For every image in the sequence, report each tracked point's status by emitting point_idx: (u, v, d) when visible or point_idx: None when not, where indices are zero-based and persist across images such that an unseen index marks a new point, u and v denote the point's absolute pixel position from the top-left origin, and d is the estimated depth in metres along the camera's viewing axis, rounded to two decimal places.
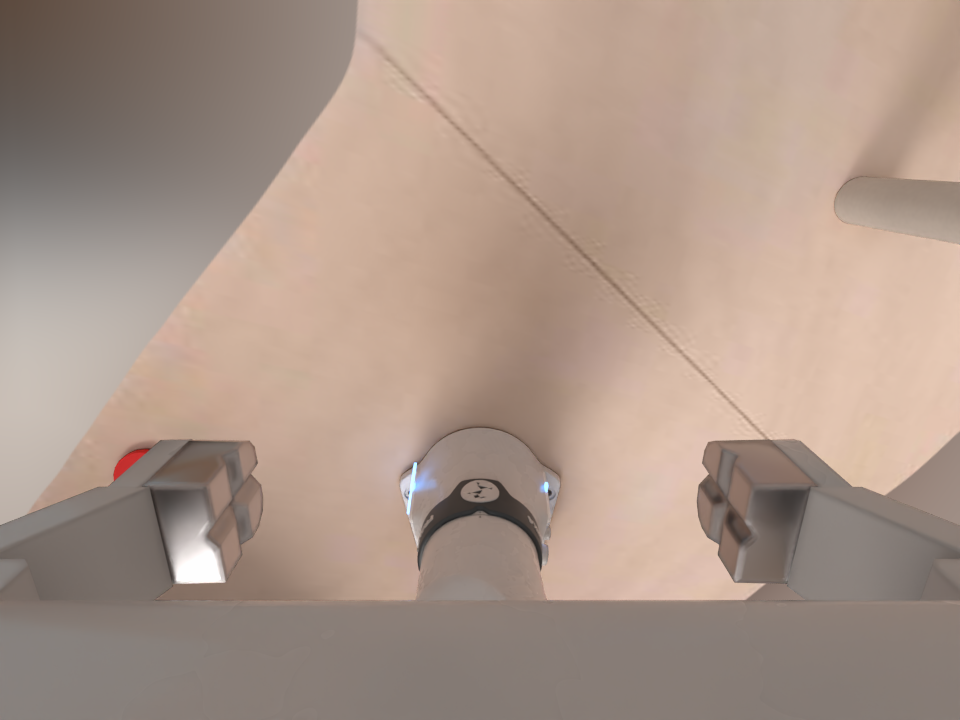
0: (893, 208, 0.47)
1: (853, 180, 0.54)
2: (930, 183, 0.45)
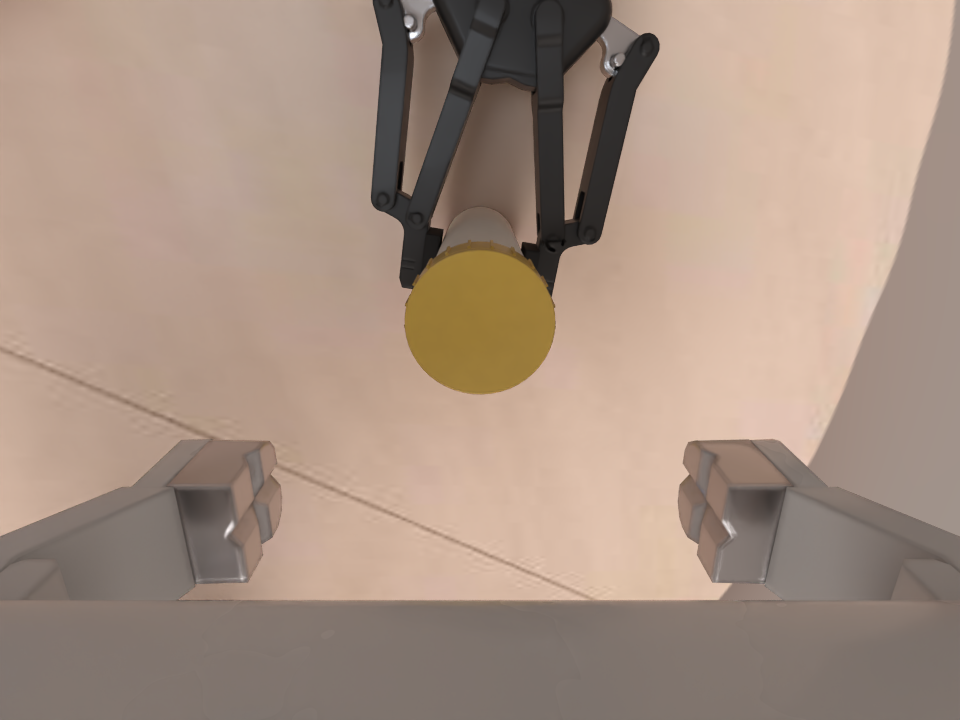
0: None
1: (454, 219, 0.35)
2: (451, 235, 0.27)
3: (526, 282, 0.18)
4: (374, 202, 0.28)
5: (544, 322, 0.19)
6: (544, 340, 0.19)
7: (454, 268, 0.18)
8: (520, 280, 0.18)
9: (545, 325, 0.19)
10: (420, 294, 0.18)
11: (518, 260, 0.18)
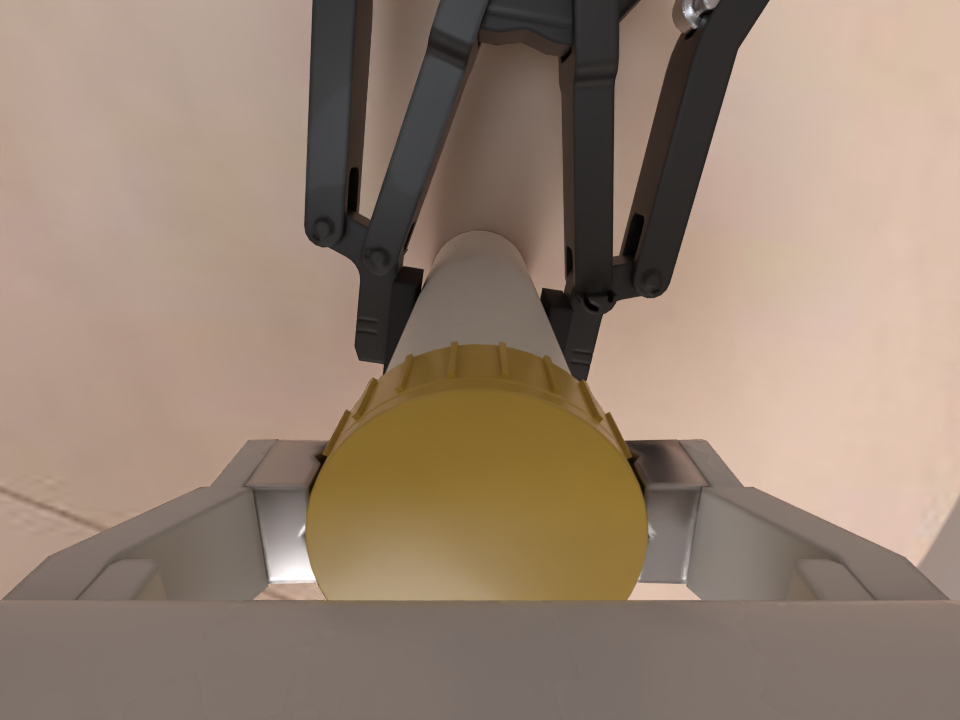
0: None
1: (442, 248, 0.25)
2: (431, 290, 0.16)
3: (586, 459, 0.08)
4: (310, 233, 0.18)
5: (624, 540, 0.08)
6: (621, 575, 0.08)
7: (415, 429, 0.08)
8: (572, 455, 0.08)
9: (626, 546, 0.08)
10: (337, 483, 0.08)
11: (569, 411, 0.07)
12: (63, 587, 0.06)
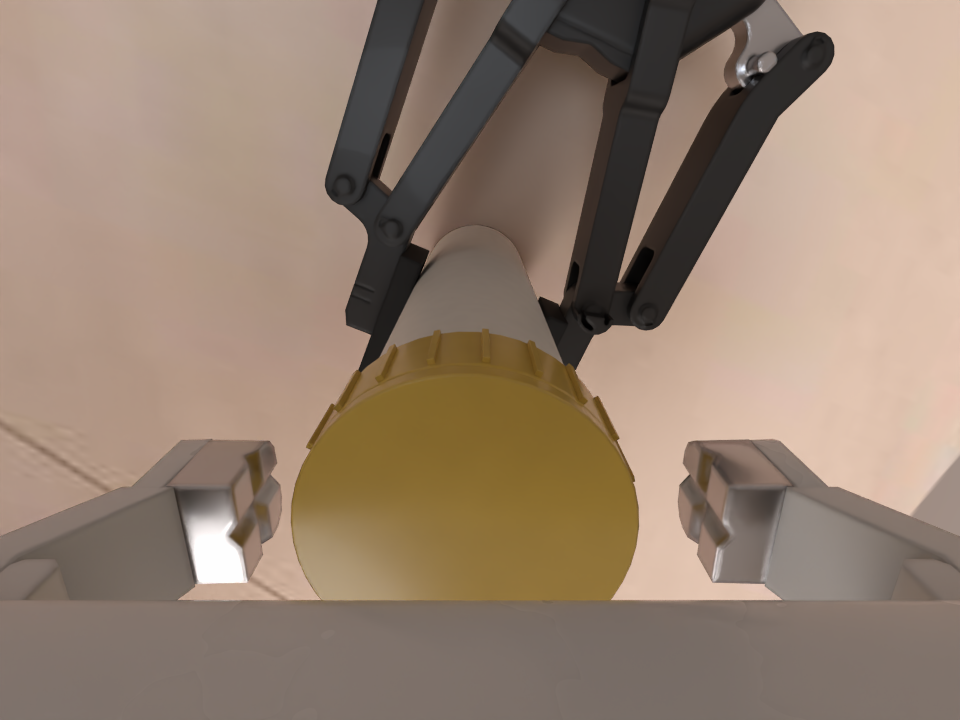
0: None
1: (447, 234, 0.25)
2: (440, 272, 0.16)
3: (441, 404, 0.07)
4: (329, 187, 0.17)
5: (552, 424, 0.07)
6: (589, 447, 0.08)
7: (321, 507, 0.08)
8: (429, 413, 0.07)
9: (560, 426, 0.07)
10: (332, 586, 0.08)
11: (385, 389, 0.07)
12: None
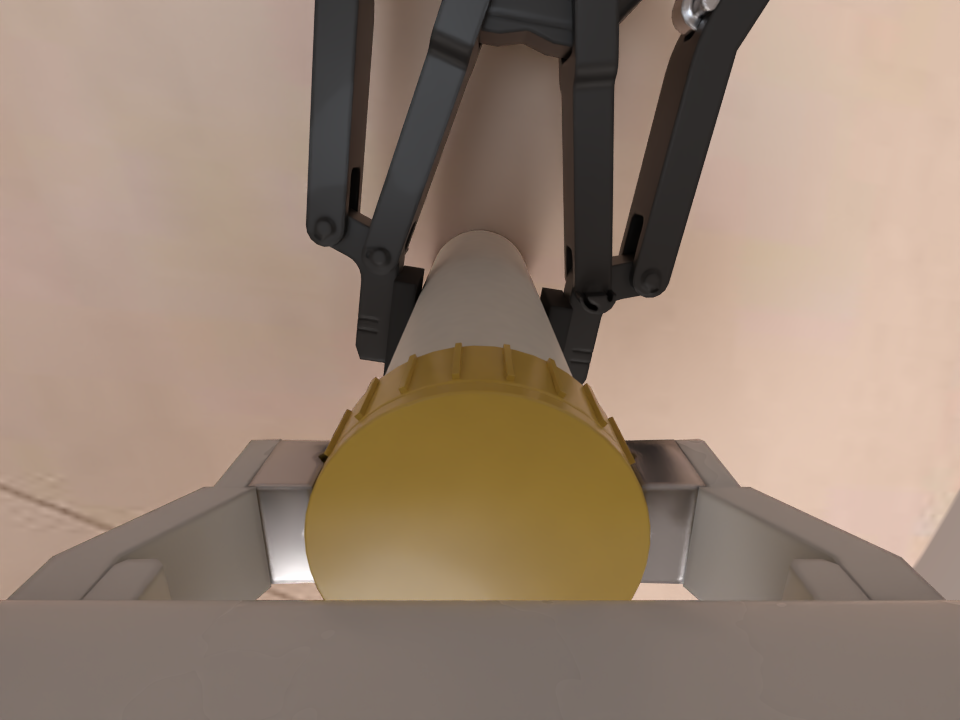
0: None
1: (442, 247, 0.25)
2: (431, 289, 0.16)
3: (419, 429, 0.07)
4: (311, 232, 0.18)
5: (532, 425, 0.07)
6: (575, 439, 0.08)
7: (334, 550, 0.08)
8: (409, 440, 0.07)
9: (540, 426, 0.07)
10: None
11: (363, 427, 0.07)
12: (68, 587, 0.06)
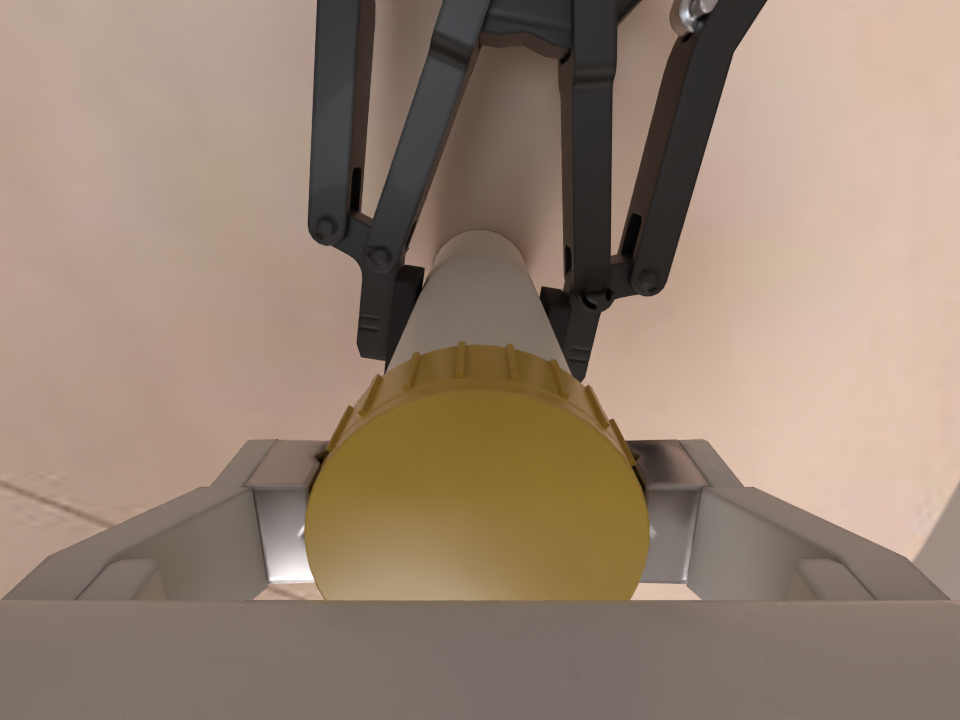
0: None
1: (442, 247, 0.25)
2: (432, 287, 0.16)
3: (332, 546, 0.08)
4: (313, 231, 0.18)
5: (360, 461, 0.08)
6: (390, 431, 0.07)
7: None
8: (339, 557, 0.08)
9: (363, 455, 0.08)
10: None
11: (316, 582, 0.08)
12: (63, 587, 0.06)
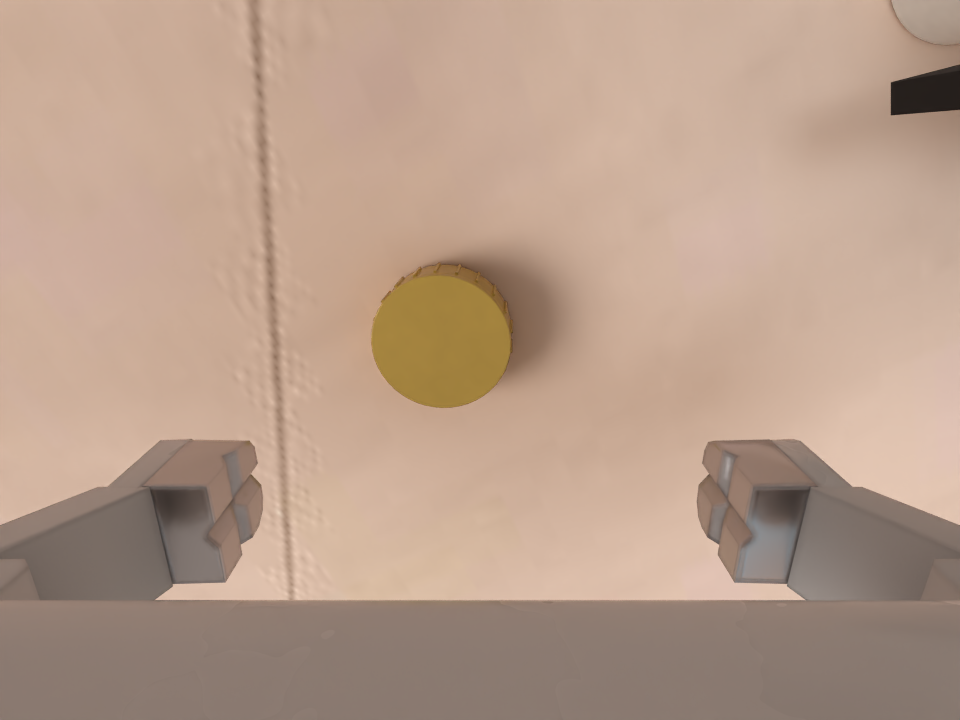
0: None
1: None
2: None
3: (382, 341, 0.20)
4: None
5: (395, 303, 0.20)
6: (407, 291, 0.19)
7: (419, 392, 0.21)
8: (384, 346, 0.20)
9: (396, 301, 0.20)
10: (457, 399, 0.21)
11: (374, 358, 0.20)
12: None
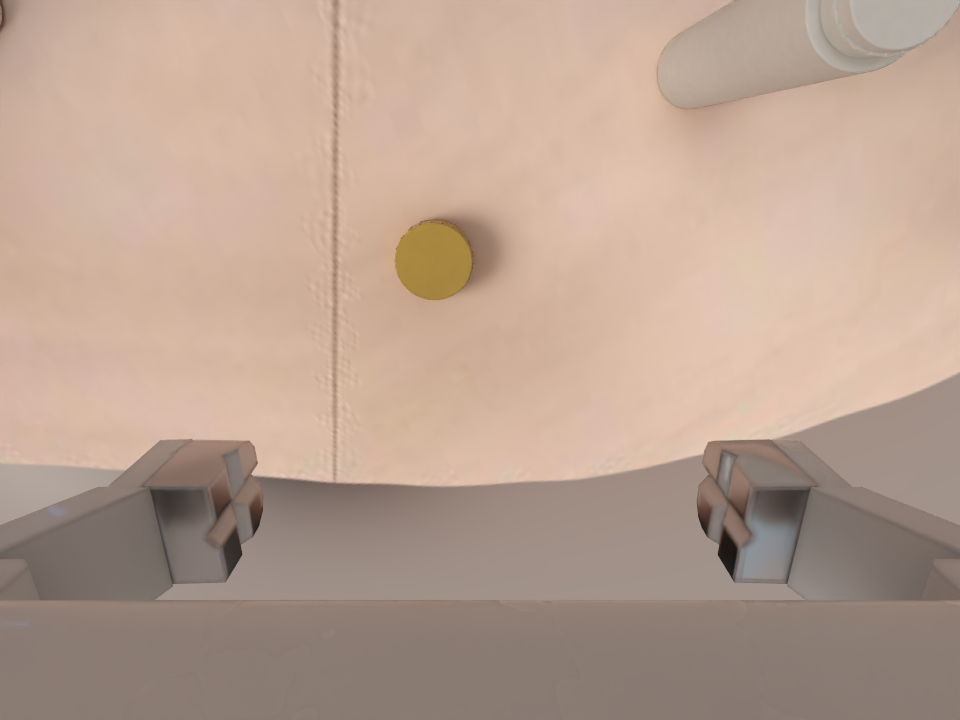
0: (731, 2, 0.26)
1: None
2: None
3: (401, 260, 0.37)
4: None
5: (409, 239, 0.36)
6: (415, 232, 0.36)
7: (421, 291, 0.37)
8: (402, 263, 0.37)
9: (409, 237, 0.36)
10: (442, 294, 0.37)
11: (396, 270, 0.37)
12: None
